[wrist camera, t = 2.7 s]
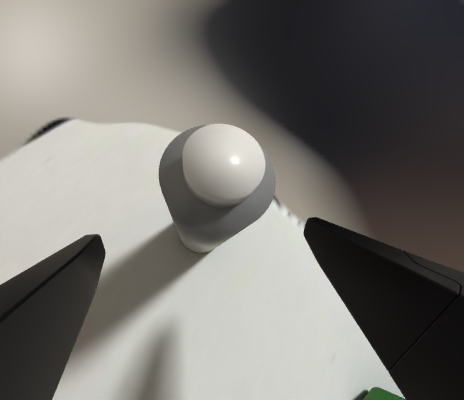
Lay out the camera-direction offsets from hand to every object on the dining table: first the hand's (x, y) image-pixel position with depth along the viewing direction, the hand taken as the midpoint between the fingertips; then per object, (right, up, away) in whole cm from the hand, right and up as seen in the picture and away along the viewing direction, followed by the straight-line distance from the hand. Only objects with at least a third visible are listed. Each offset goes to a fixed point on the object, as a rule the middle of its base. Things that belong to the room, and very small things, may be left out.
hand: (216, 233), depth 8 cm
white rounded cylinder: (-2, -1, +9) cm, 9 cm away
